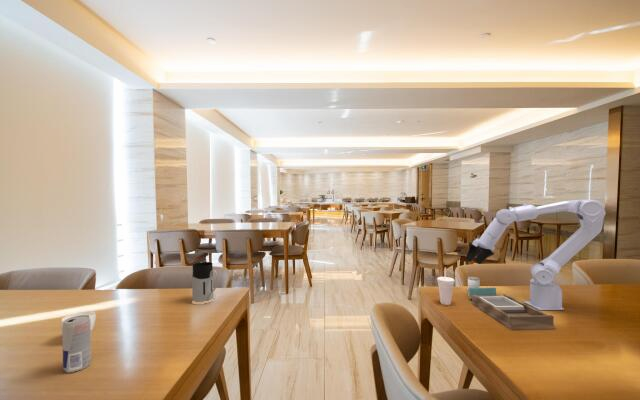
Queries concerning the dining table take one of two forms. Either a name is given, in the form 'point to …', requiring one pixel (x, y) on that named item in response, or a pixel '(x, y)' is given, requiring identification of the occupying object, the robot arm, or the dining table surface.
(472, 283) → the disc stack
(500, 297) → the tray
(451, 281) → the smoothie
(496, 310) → the dock
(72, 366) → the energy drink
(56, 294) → the dining table surface
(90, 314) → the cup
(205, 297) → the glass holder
